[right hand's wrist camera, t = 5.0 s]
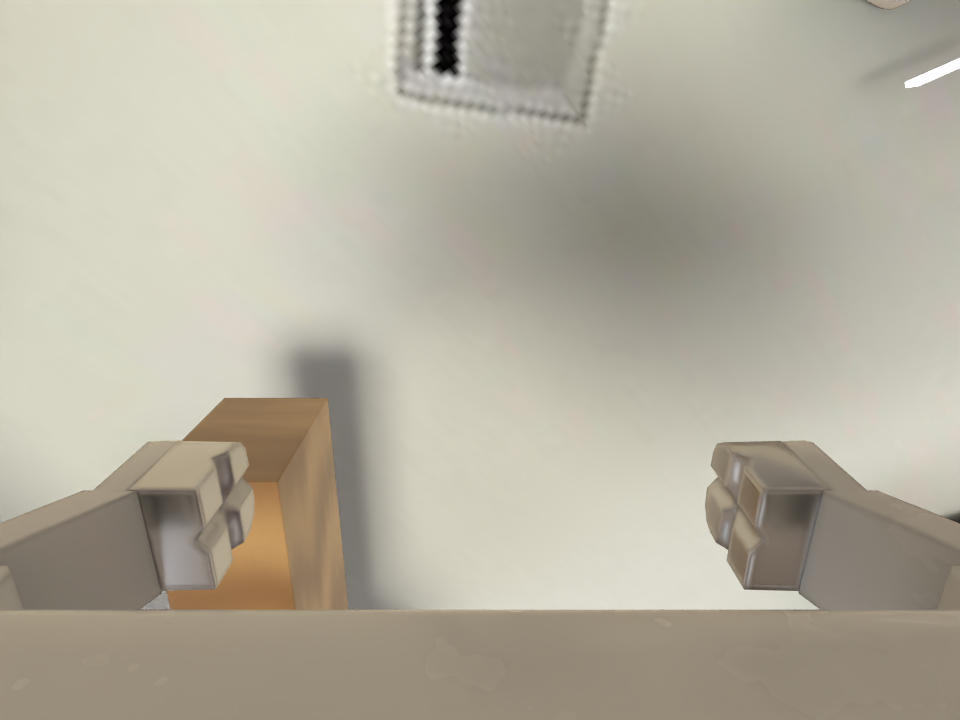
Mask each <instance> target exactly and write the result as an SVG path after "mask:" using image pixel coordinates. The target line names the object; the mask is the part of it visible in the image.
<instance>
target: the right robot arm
mask: <svg viewBox="0 0 960 720" xmlns="http://www.w3.org/2000/svg"><path fill="white" fill-rule="evenodd" d="M866 1H868V2H870V3H872V4H873V5H875V6H878V7H880V8H883V9H894V8H897V7H899V6H901V5H903V4H905V3H907V2H909V1H911V0H866ZM959 68H960V58H959V59H956V60H954V61H952V62H950V63H947V64H945V65H943V66H941V67H938V68H936V69H934V70H931V71H929V72H927V73H925V74H922V75H920V76H918V77H916V78H913V79H911V80H909V81H906V82H905V87H906V88H909V87H916V86H920V85H922V84H924V83H927V82H929V81H931V80H933V79H936V78H938V77H940V76H943V75H945V74H947V73H949V72H952V71H954V70H956V69H959ZM248 467H249V462H248V457H247V452H246V448H245V447H244V446H243V445H242V444H241V442H198V441H183V442H182V441H153V442H147V443H146V444H145V445H144V446H143V447H142V448H141V449H139V450H138V451H137V452H136V453H135V454H134V455H133V456H131V457H130V458H129V459H128V460H127V461H126V462H125V463H124V464H122V465H121V466H120V467H119V468H118V469H117V470H116V471H115V472H113V473H112V474H111V475H110V476H109V477H108V478H107V479H105V480H104V481H103V482H102V483H101V484H100V485H99V486H98V487H96V488H95V489H94V490H93V491H81V492H78V493H76V494H73V495H71V496H68V497H66V498H63V499H61V500H58V501H56V502H53V503H51V504H48V505H45V506H43V507H40V508H38V509H35V510H33V511H30V512H28V513H25V514H23V515H20V516H18V517H15V518H13V519H10V520H7V521H5V522H2V523H0V720H960V523H957V522H955V521H952V520H950V519H947V518H945V517H942V516H940V515H937V514H935V513H932V512H930V511H927V510H925V509H922V508H919V507H917V506H914V505H912V504H909V503H907V502H904V501H902V500H899V499H897V498H894V497H892V496H889V495H887V494H884V493H882V492H879V491H867V490H866V489H865V488H864V487H862V486H861V485H860V484H859V483H858V482H857V481H856V480H855V479H853V478H852V477H851V476H850V475H849V474H848V473H847V472H846V471H844V470H843V469H842V468H841V467H840V466H839V465H838V464H837V463H835V462H834V461H833V460H832V459H831V458H830V457H829V456H828V455H826V454H825V453H824V452H823V451H822V450H821V449H820V448H819V447H817V446H816V445H815V444H814V443H813V442H809V441H805V440H804V441H782V442H781V441H761V442H724V443H718V444H717V445H716V447H715V449H714V452H713V456H712V462H711V467H712V468H713V470H714V471H715V473H716V474H717V476H718V477H717V478H716V479H715V480H714V481H713V482H712V484H711V485H710V486H709V487H708V488H707V494H706V502H705V509H706V519H707V524H708V527H709V530H710V533H711V534H712V536H713V538H714V540H715V541H716V543H718V544H720V545H721V546H723V547H724V548H726V549H728V556H727V562H728V563H729V565H730V567H731V568H732V570H733V572H734V573H735V575H736V577H737V578H738V580H739V582H740V583H741V585H742V587H743V588H744V589H748V590H785V591H799V594H800V595H802V596H803V597H804V598H806V599H807V600H808V601H810V602H811V603H813V604H814V605H815V606H817V607H818V608H819V609H821V610H139V609H141V608H142V607H144V606H145V605H146V604H148V603H149V602H150V601H152V600H153V599H154V598H156V597H157V596H159V595H160V594H161V591H175V590H210V589H216V588H217V587H218V585H219V583H220V582H221V580H222V578H223V577H224V575H225V573H226V572H227V570H228V568H229V567H230V565H231V563H232V562H233V556H232V549H234V548H236V547H237V546H239V545H240V544H242V543H244V541H245V540H246V538H247V536H248V534H249V532H250V531H251V526H252V522H253V518H254V510H255V500H254V493H253V488H252V487H251V486H250V485H249V484H248V482H247V481H246V480H245V479H244V478H243V477H242V476H243V474H244V473H245V471H246V470H247V468H248Z"/></svg>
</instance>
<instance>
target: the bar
mask: <svg viewBox="0 0 960 720" xmlns="http://www.w3.org/2000/svg"><path fill="white" fill-rule="evenodd" d="M183 441H198V442H241V444H242V445H243V446H244V447H245V448H246V452H247V457H248V462H249V467H248V468H247V470H246V471H245V473H244V474H243V476H242V477H243V478H244V479H245V480H246V481H247V482H248V484H249V485H250V486H251V487H252V488H253V493H254V500H255V510H254V518H253V522H252V526H251V531H250V532H249V534H248V536H247V538H246V540H245V541H244V543H242V544H240V545H239V546H237V547H236V548H234V549H232V556H233V562H232V563H231V565H230V567H229V568H228V570H227V572H226V573H225V575H224V577H223V578H222V580H221V582H220V583H219V585H218V587H217V588H216V589H210V590H175V591H167V595H168V600H169V604H170V608H171V610H349V608H348V598H347V588H346V578H345V568H344V558H343V548H342V538H341V528H340V518H339V508H338V498H337V488H336V478H335V468H334V458H333V448H332V438H331V428H330V418H329V408H328V399H327V398H224V399H223V400H222V401H221V402H220V403H219V404H218V405H217V406H216V407H215V408H214V409H213V410H212V411H211V412H210V413H209V414H208V415H207V416H206V417H205V418H204V419H203V420H202V421H201V422H200V423H199V424H198V425H197V426H196V427H195V428H194V429H193V430H192V431H191V432H190V433H189V434H188V435H187V436H186V437H185V438H184V439H183V440H182V442H183Z"/></svg>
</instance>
